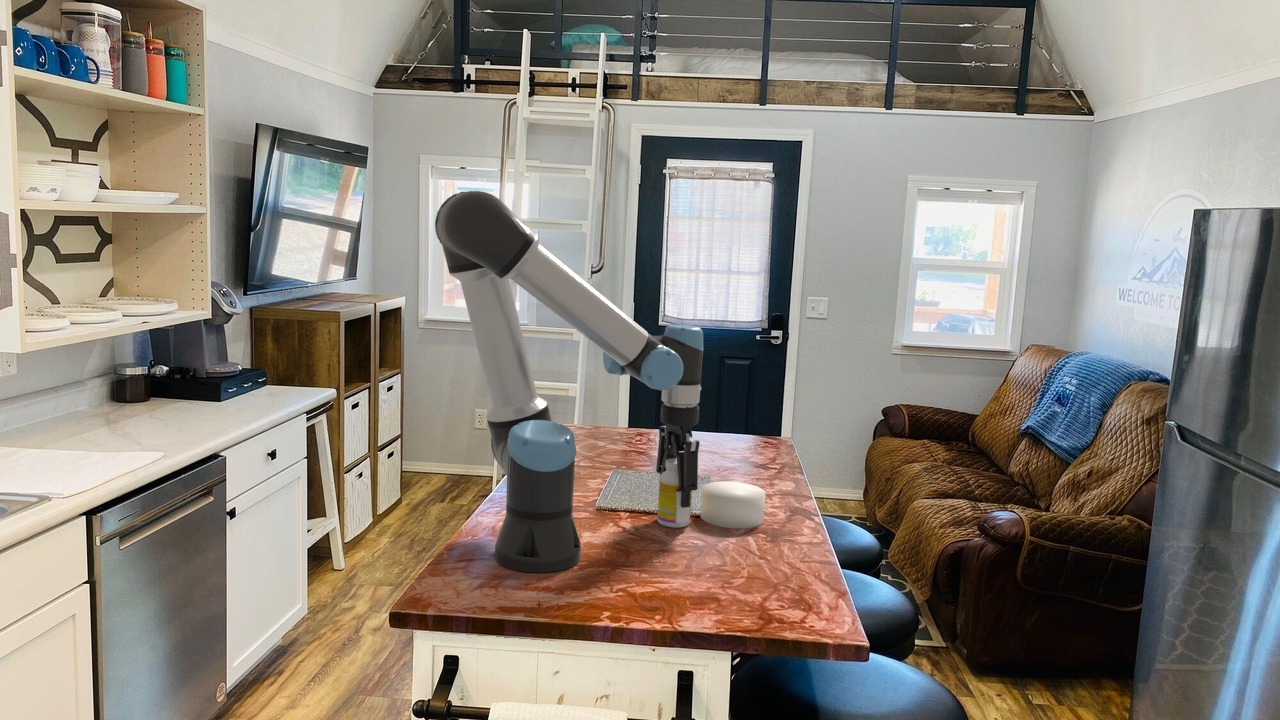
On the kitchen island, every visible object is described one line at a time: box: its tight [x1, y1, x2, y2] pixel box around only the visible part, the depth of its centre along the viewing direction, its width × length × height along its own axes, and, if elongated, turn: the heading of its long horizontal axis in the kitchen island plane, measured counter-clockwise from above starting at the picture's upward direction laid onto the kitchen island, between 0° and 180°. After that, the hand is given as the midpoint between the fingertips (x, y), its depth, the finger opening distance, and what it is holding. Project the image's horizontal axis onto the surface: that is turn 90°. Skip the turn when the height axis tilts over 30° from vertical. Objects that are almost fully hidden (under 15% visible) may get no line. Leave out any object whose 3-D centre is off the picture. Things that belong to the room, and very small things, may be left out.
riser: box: [699, 480, 766, 529], centre depth 189 cm, size 13×13×6 cm
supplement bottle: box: [656, 458, 693, 529], centre depth 183 cm, size 7×7×13 cm
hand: (674, 515), depth 184 cm, fingers closed on supplement bottle, 7 cm apart
